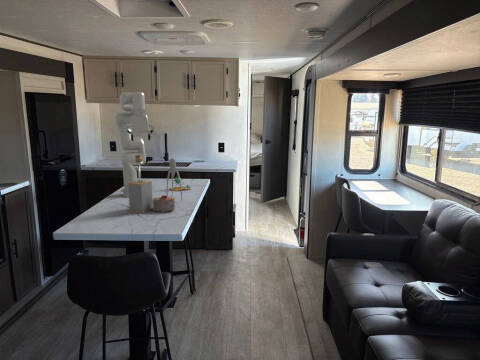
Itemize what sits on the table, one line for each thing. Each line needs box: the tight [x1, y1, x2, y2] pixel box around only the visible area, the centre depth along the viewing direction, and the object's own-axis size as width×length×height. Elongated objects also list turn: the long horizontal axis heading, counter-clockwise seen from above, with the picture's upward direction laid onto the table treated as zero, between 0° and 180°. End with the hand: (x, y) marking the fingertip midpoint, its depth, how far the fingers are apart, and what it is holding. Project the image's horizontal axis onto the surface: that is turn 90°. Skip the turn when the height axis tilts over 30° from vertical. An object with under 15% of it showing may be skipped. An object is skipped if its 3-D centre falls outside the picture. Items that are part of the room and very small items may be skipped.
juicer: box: [166, 157, 183, 201], centre depth 245 cm, size 10×9×30 cm
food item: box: [152, 194, 176, 213], centre depth 224 cm, size 14×8×10 cm, turn 97°
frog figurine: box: [168, 175, 192, 192], centre depth 279 cm, size 10×18×15 cm, turn 79°
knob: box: [135, 155, 144, 183], centre depth 221 cm, size 8×8×25 cm
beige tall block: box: [126, 179, 153, 215], centre depth 224 cm, size 12×12×18 cm
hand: (140, 141), depth 222 cm, fingers open, 9 cm apart
